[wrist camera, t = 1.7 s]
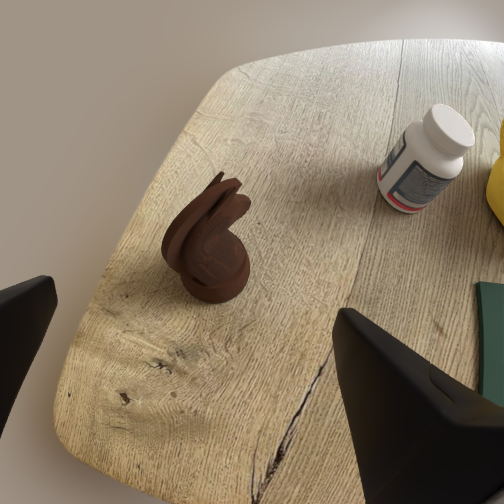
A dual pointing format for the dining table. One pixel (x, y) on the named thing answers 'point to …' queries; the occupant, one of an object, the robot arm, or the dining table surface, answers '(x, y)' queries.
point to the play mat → (491, 341)
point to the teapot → (497, 182)
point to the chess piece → (210, 243)
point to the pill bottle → (425, 159)
